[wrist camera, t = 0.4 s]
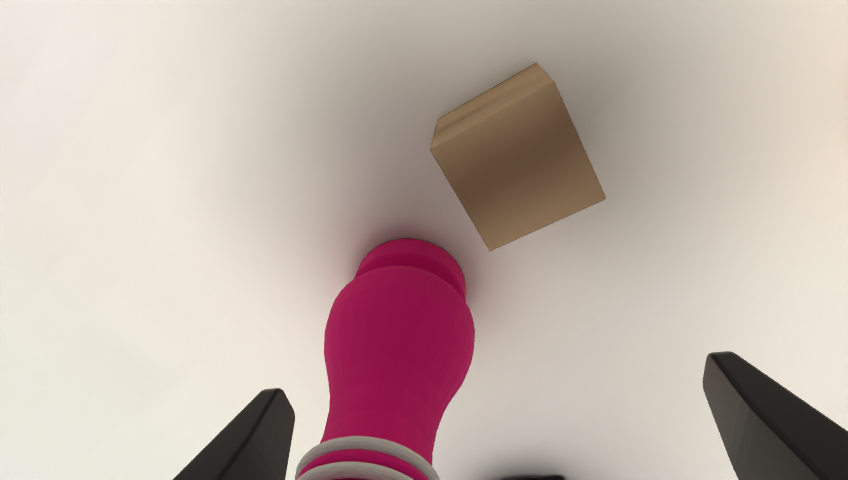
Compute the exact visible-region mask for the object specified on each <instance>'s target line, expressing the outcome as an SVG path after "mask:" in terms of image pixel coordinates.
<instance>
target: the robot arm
mask: <svg viewBox="0 0 848 480" xmlns="http://www.w3.org/2000/svg"><path fill="white" fill-rule="evenodd" d="M703 389H704V392H705V395H706V398H707V401H708V403H709V406H710V409H711V411H712V414H713V417H714V419H715V422H716V424H717V427H718V430H719V432H720V435H721V438H722V440H723V443H724V446H725V448H726V451H727V454H728V456H729V459H730V461H731V464H732V466H733V469H734V471H735V473H736V475H737V477H738V479H739V480H848V431H846V430H845V429H844V428H842V427H841V426H839V425H838V424H836V423H835V422H833V421H832V420H831V419H829V418H828V417H826V416H825V415H823V414H822V413H820V412H819V411H818V410H816V409H815V408H813V407H812V406H810V405H809V404H807V403H806V402H805V401H803V400H802V399H800V398H799V397H797V396H796V395H794V394H793V393H792V392H790V391H789V390H787V389H786V388H784V387H783V386H782V385H780V384H779V383H777V382H776V381H774V380H773V379H771V378H770V377H769V376H767V375H766V374H764V373H763V372H761V371H760V370H758V369H757V368H756V367H754V366H753V365H751V364H750V363H748V362H747V361H745V360H744V359H743V358H741V357H740V356H738V355H737V354H735V353H733V352H729V351H726V352H714V353H710V354H708V356H707V358H706V364H705V370H704V376H703ZM294 422H295V414H294V410H293V408H292V406H291V404H290V402H289V401H288V399H287V397H286V395H285V393H284V391H283V390H281V389H280V388H274V389H265V390H263V391H261V392H260V393H259V394H258V395H257V396H256V397H255V398H254V399H253V400H252V401H251V402H250V403H249V404H248V405H247V406H246V407H245V408H244V409H243V410H242V411H241V412H240V413H239V414H238V415H237V416H236V417H235V418H234V419H233V420H232V421H231V422H230V423H229V424H228V425H227V426H226V427H225V428H224V429H223V430H222V431H221V432H220V433H219V434H218V435H217V436H216V437H215V438H214V439H213V440H212V441H211V442H210V443H209V444H208V445H207V446H206V447H205V448H204V449H203V450H202V451H201V452H200V453H199V454H198V455H197V456H196V457H195V458H194V459H193V460H192V461H191V462H190V463H189V464H188V465H187V466H186V467H185V468H184V469H183V470H182V471H181V472H180V473H179V474H178V475H177V476H176V477H175V478H174V479H173V480H285V476H286V470H287V464H288V458H289V452H290V446H291V440H292V434H293V428H294ZM534 480H565V479H564V478H561V477H555V478H544V479H534Z"/></svg>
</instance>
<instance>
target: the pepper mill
mask: <svg viewBox="0 0 848 480" xmlns="http://www.w3.org/2000/svg"><path fill="white" fill-rule="evenodd" d="M474 339H475V329H474V323H473V318H472V315H471V312H470V310H469V307H468V306H467V304H466V302H465V280H464V276H463V273H462V271H461V269H460V267H459V265H458V264H457V262H456V261H455V260H454V259H453V258H452V257H451V256H450V255H449V254H448V253H447V252H446V251H444V250H443V249H441V248H440V247H438V246H436V245H434V244H431V243H429V242H426V241H422V240H416V239H398V240H392V241H389V242H386V243H383V244H381V245H379V246H378V247H376V248H374V249H373V250H372V251H370V252H369V253H368V254H367V255H366V257H365V258H364V259H363V261H362V262H361V264H360V266H359V269H358V271H357V274H356V276H355V279H354V280H353V281H351V282H350V283H349V284H347V285H346V286H345V287H344V289H343V290H342V291H341V292H340V293H339V295H338V296H337V298H336V299H335V301H334V303H333V306H332V308H331V311H330V314H329V318H328V321H327V325H326V329H325V340H324V356H325V363H326V369H327V375H328V381H329V390H330V408H329V414H328V418H327V422H326V427H325V431H324V435H323V437H322V440H321V442H320V444H319V445H317V446H315V447H314V448H312V449H311V450H310V451H309V452H307V453H306V454H305V455H304V457H303V458H302V459H301V461H300V462H299V464H298V467H297V470H296V475H295V480H440V478H439V477H438V475H437V473H436V471H435V470H434V469H433V467H432V452H433V447H434V442H435V437H436V432H437V429H438V426H439V423H440V421H441V418H442V415H443V413H444V411H445V409H446V407H447V406H448V404H449V402H450V401H451V399H452V398H453V397H454V395H455V394H456V392H457V391H458V389H459V388H460V387H461V385H462V383H463V381H464V379H465V377H466V374H467V372H468V369H469V367H470V364H471V360H472V356H473V350H474Z"/></svg>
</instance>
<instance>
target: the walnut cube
mask: <svg viewBox="0 0 848 480" xmlns="http://www.w3.org/2000/svg"><path fill="white" fill-rule="evenodd" d="M430 151H431V153H432V154H433V156H434V158H435V159H436V161H437V163H438V164H439V166H440V168H441V169H442V171H443V173H444V175H445V176H446V178H447V180H448V181H449V183H450V185H451V186H452V188H453V190H454V191H455V193H456V195H457V197H458V198H459V200H460V202H461V203H462V205H463V207H464V208H465V210H466V212H467V213H468V215H469V217H470V219H471V220H472V222H473V224H474V225H475V227H476V229H477V230H478V232H479V234H480V235H481V237H482V239H483V241H484V242H485V244H486V246H487V247H488V249H489V251H492V250H494V249H496V248H498V247H500V246H503V245H505V244H507V243H509V242H512V241H514V240H516V239H518V238H520V237H523V236H525V235H527V234H529V233H532V232H534V231H536V230H538V229H540V228H543V227H545V226H547V225H549V224H552V223H554V222H556V221H558V220H560V219H563V218H565V217H567V216H569V215H572V214H574V213H576V212H578V211H580V210H583V209H585V208H587V207H589V206H592V205H594V204H596V203H598V202H600V201H603V200H605V199H606V197H605V194H604V192H603V190H602V188H601V185H600V183H599V181H598V179H597V176H596V174H595V172H594V170H593V168H592V165H591V163H590V161H589V159H588V156H587V154H586V152H585V150H584V147H583V145H582V143H581V141H580V138H579V136H578V134H577V132H576V129H575V127H574V125H573V123H572V121H571V118H570V116H569V114H568V112H567V109H566V107H565V105H564V103H563V100H562V98H561V96H560V94H559V91H558V89H557V87H556V85H555V82H554V81H553V80H552V79H551V78H550V77H549V76H548V75H547V73H546V72H545V71H544V70H543V69H542V68H541V67H540V66H539V65H538V64H537V63H535V64H533V65H532V66H530V67H528V68H526V69H525V70H523V71H521V72H519V73H518V74H516V75H514V76H512V77H511V78H509V79H507V80H505V81H504V82H502V83H500V84H498V85H497V86H495V87H493V88H491V89H490V90H488V91H486V92H484V93H483V94H481V95H479V96H477V97H476V98H474V99H472V100H470V101H469V102H467V103H465V104H463V105H462V106H460V107H458V108H456V109H455V110H453V111H451V112H449V113H448V114H446V115H444V116H442V117H441V118H439V119H438V121H437V125H436V129H435V133H434V136H433V140H432V144H431V148H430Z"/></svg>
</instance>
